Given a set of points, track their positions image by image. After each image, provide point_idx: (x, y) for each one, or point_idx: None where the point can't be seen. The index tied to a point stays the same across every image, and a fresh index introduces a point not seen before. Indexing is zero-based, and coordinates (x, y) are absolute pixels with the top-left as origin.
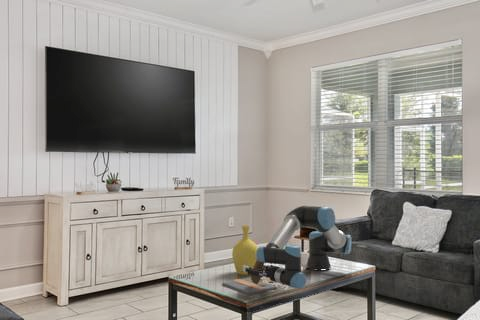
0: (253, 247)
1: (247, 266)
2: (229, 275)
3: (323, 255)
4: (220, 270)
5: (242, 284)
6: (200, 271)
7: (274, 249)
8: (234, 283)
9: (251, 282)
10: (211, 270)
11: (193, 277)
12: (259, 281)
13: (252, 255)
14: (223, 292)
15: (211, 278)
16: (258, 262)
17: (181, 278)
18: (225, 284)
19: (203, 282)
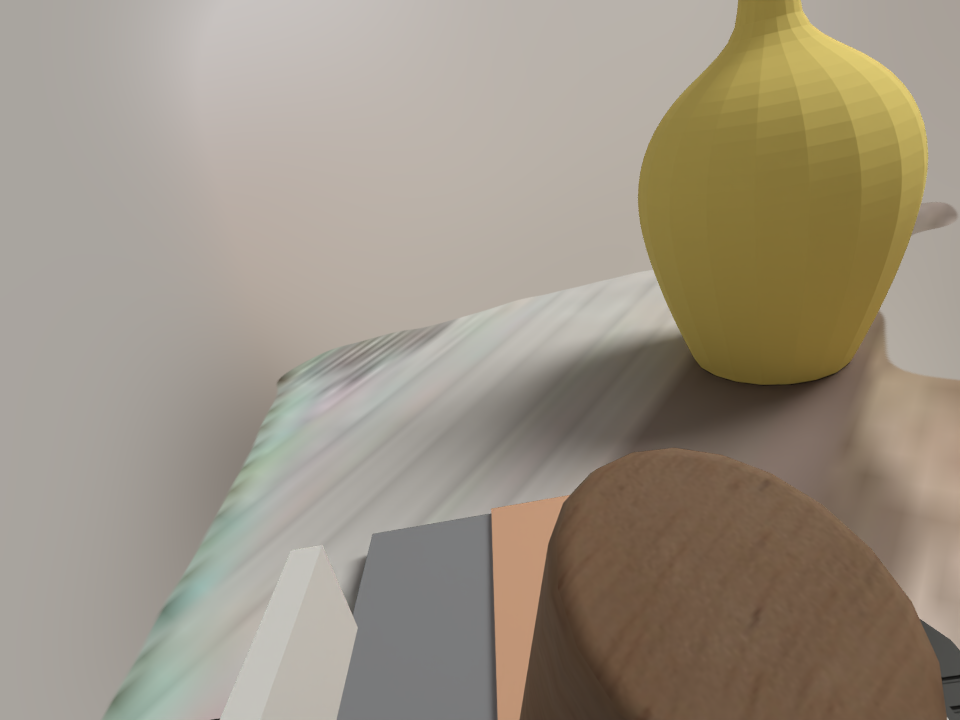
0: (844, 112)
1: (275, 667)
2: (608, 376)
3: None
4: (610, 308)
5: (493, 693)
6: (496, 313)
7: None
8: (442, 607)
9: None
10: (561, 306)
11: (380, 374)
12: None
13: (819, 210)
14: None
15: (449, 404)
16: (573, 701)
17: (317, 378)
18: (363, 585)
19: (331, 458)
